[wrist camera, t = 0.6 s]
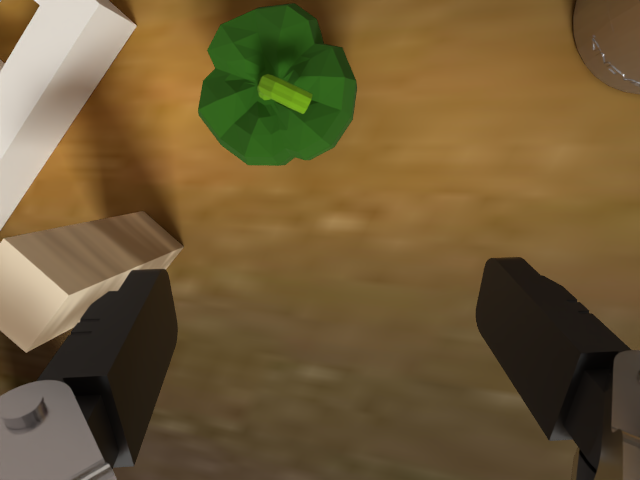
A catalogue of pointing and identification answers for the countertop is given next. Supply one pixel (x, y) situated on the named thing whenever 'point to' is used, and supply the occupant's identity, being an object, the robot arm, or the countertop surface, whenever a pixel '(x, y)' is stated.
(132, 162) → the countertop surface
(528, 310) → the robot arm
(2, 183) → the socket hub
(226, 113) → the bell pepper
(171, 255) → the beech plug
